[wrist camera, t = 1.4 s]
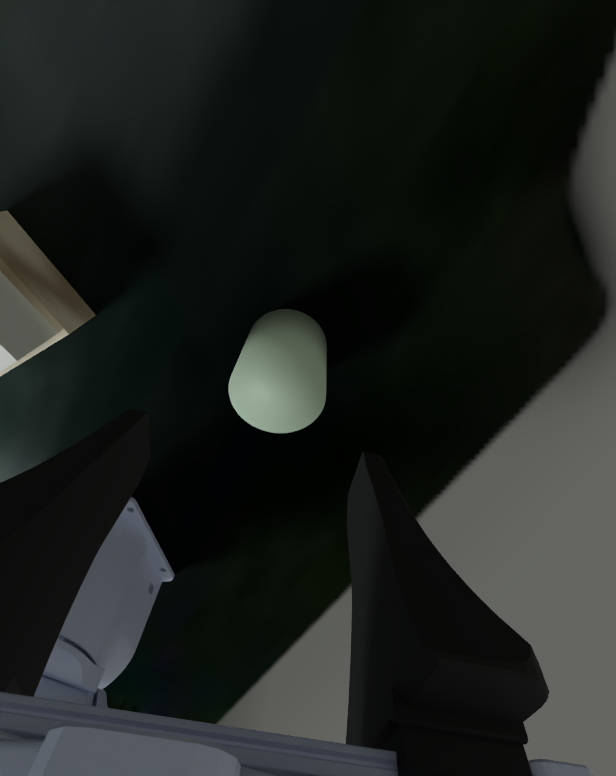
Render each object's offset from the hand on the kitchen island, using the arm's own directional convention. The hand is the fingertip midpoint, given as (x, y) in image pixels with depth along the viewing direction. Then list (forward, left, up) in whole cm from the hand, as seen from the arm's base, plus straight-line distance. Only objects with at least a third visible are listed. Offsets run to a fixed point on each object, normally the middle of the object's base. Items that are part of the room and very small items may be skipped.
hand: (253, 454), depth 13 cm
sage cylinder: (-1, 0, -10) cm, 10 cm away
